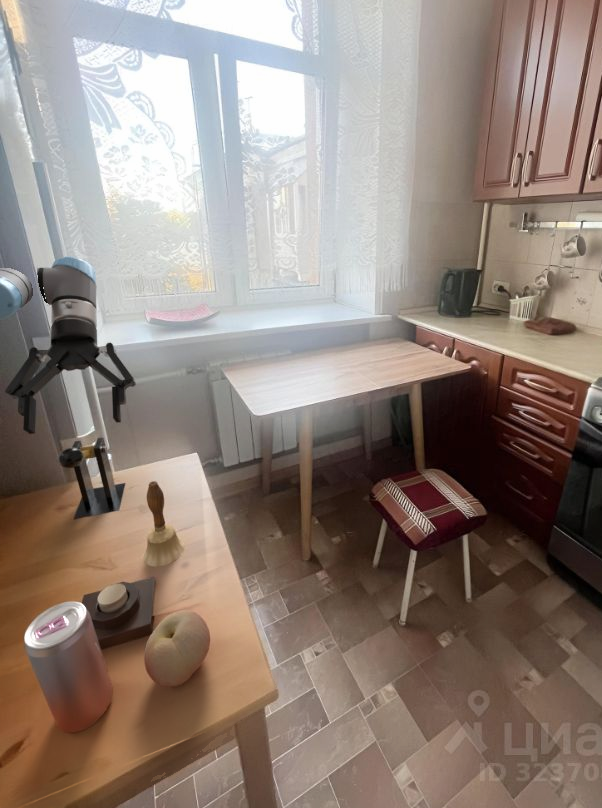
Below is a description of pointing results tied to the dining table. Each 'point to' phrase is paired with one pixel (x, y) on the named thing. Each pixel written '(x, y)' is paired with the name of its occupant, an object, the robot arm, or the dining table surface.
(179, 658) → the fruit
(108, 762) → the dining table surface
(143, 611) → the button block
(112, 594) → the button
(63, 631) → the beverage can
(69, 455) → the lever
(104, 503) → the switch bracket
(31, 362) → the robot arm
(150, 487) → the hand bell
